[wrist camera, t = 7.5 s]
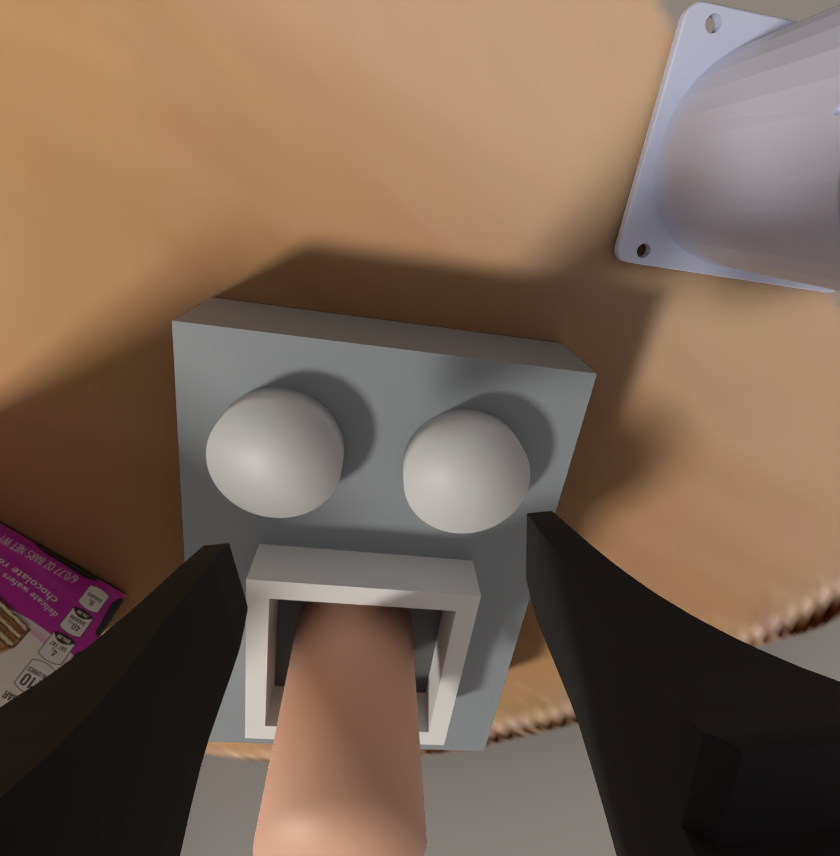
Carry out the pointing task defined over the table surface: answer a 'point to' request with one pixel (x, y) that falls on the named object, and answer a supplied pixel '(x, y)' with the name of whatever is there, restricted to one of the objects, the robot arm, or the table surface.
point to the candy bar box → (45, 612)
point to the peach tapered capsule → (346, 740)
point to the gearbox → (372, 489)
